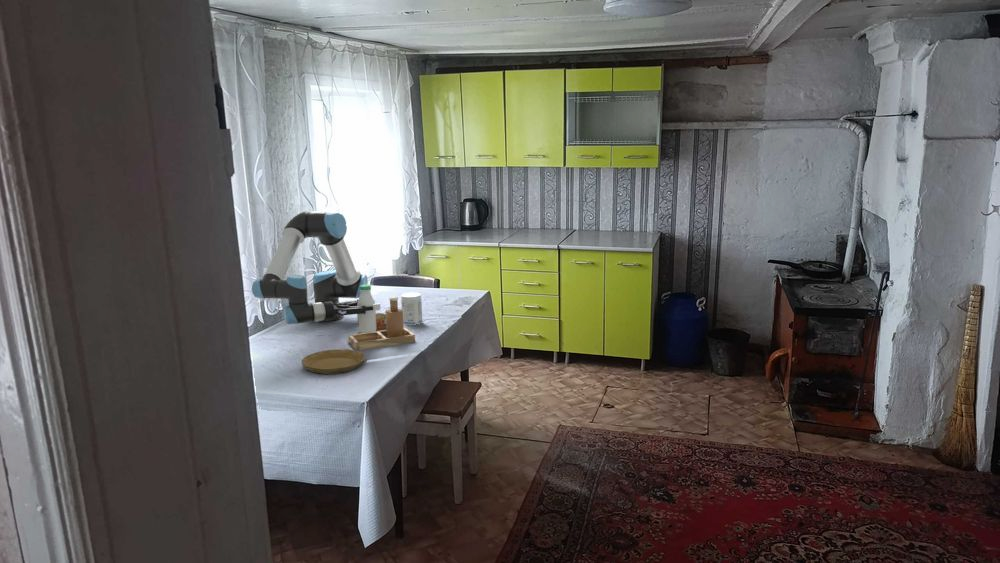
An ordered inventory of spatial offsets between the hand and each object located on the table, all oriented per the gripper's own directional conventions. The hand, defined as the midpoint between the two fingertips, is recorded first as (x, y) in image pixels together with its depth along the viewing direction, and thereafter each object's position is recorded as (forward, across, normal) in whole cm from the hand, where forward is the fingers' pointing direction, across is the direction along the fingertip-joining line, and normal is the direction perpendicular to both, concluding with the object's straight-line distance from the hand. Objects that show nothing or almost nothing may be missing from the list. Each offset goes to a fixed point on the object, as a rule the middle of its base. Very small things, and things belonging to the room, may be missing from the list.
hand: (377, 304), depth 286 cm
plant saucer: (-24, +18, -18) cm, 35 cm away
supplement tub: (+23, -23, -18) cm, 37 cm away
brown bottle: (+7, 0, -17) cm, 18 cm away
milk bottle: (-5, 0, -11) cm, 12 cm away
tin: (+3, -20, -18) cm, 27 cm away
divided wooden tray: (+1, 0, -18) cm, 18 cm away
